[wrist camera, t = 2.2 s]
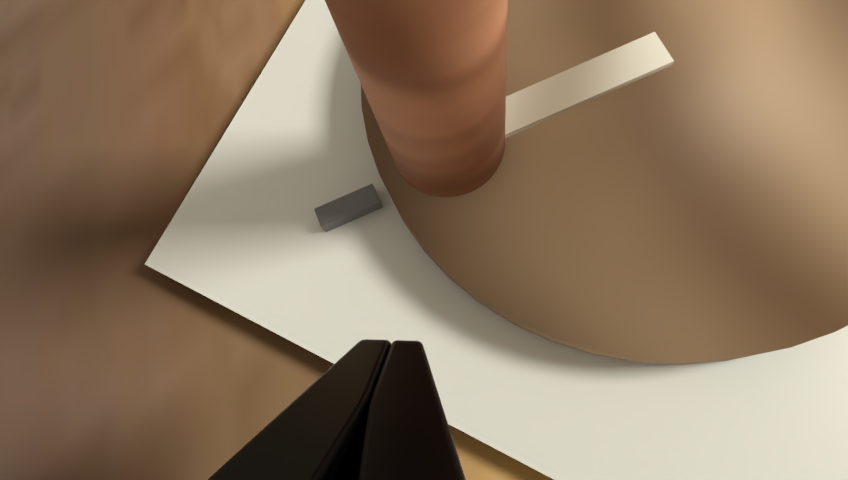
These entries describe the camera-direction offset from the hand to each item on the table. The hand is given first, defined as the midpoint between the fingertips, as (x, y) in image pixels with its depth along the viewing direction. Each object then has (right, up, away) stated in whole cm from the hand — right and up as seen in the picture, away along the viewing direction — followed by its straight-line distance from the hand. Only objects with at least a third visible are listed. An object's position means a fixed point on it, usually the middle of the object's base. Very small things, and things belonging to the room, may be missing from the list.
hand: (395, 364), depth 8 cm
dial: (+7, +6, +8) cm, 12 cm away
